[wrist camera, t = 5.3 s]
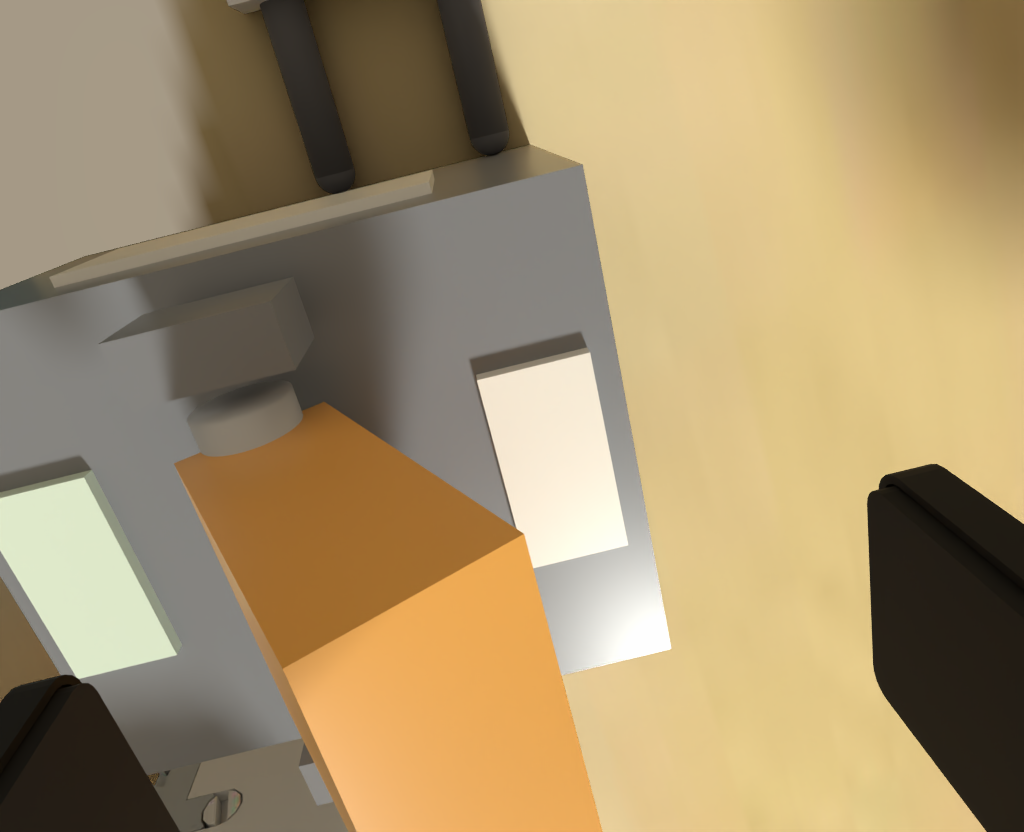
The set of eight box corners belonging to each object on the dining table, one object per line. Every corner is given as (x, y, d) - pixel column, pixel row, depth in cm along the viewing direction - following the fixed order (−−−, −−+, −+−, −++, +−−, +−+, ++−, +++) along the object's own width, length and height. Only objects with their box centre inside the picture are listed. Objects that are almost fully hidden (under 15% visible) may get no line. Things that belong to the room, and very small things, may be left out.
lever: (299, 364, 12) (513, 488, 7) (401, 642, 15) (621, 904, 9) (152, 420, 11) (260, 618, 6) (286, 708, 14) (456, 1048, 8)
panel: (528, 136, 19) (609, 160, 10) (599, 476, 23) (706, 733, 13) (81, 248, 19) (-278, 382, 10) (227, 567, 23) (75, 884, 14)
